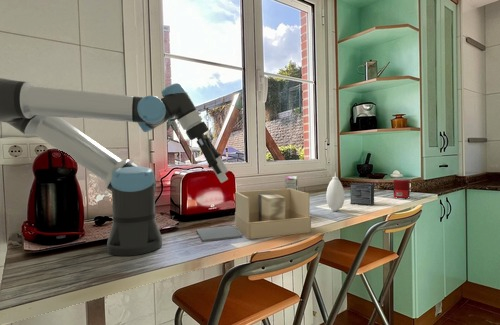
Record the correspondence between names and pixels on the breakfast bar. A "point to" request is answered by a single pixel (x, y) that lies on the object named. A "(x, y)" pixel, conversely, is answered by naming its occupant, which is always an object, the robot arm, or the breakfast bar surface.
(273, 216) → the box
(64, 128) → the robot arm
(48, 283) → the breakfast bar surface
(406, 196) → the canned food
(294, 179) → the candy bar box
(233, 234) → the mat
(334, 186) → the air blower bulb
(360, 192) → the small box
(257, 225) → the carton
